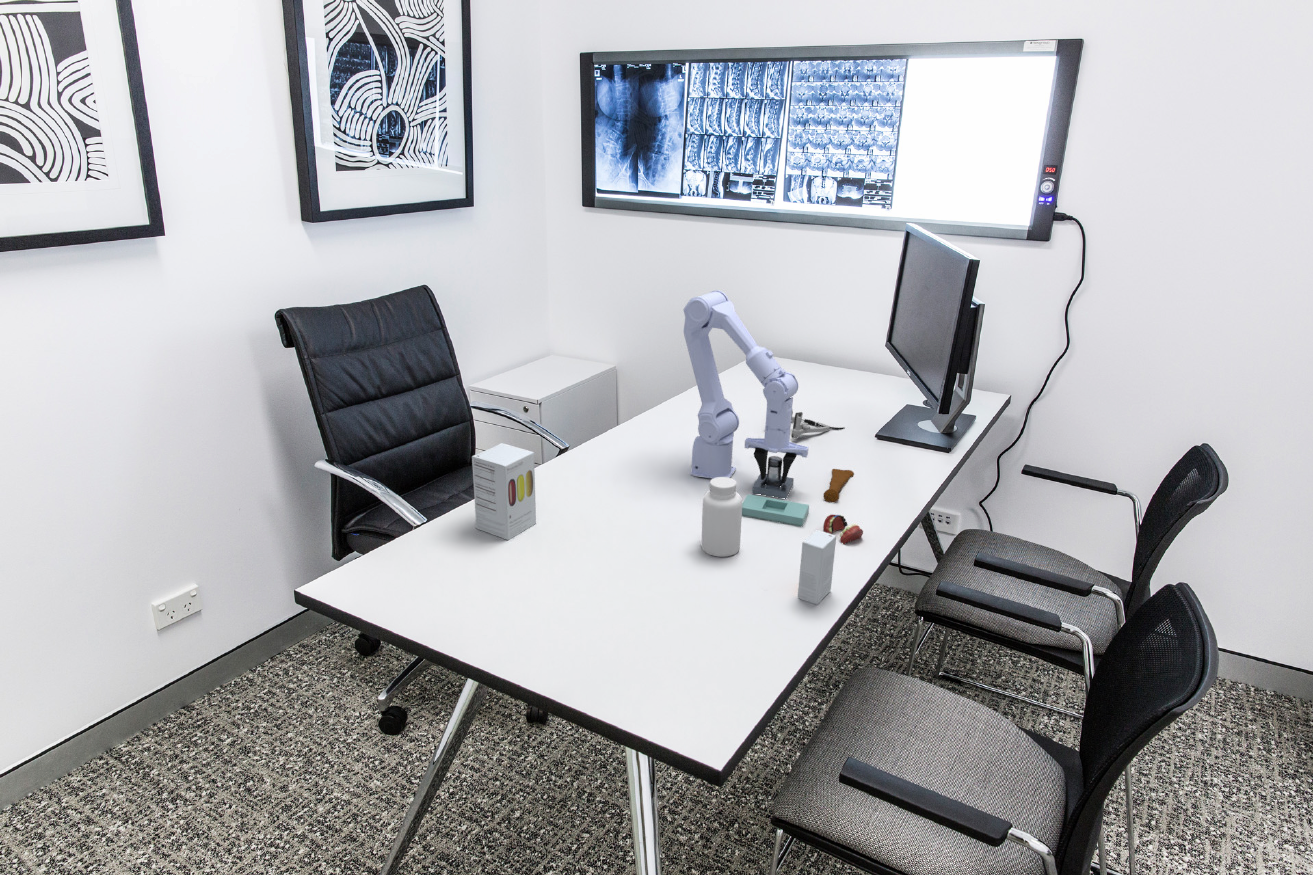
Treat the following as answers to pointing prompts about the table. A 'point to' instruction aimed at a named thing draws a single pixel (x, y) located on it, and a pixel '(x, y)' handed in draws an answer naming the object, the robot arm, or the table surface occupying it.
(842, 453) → the table surface
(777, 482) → the glass vial
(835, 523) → the dentures
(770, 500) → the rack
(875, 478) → the table surface
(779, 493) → the socket block
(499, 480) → the supplement box
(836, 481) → the primitive tool
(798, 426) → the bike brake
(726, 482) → the pill bottle
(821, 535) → the skincare box
